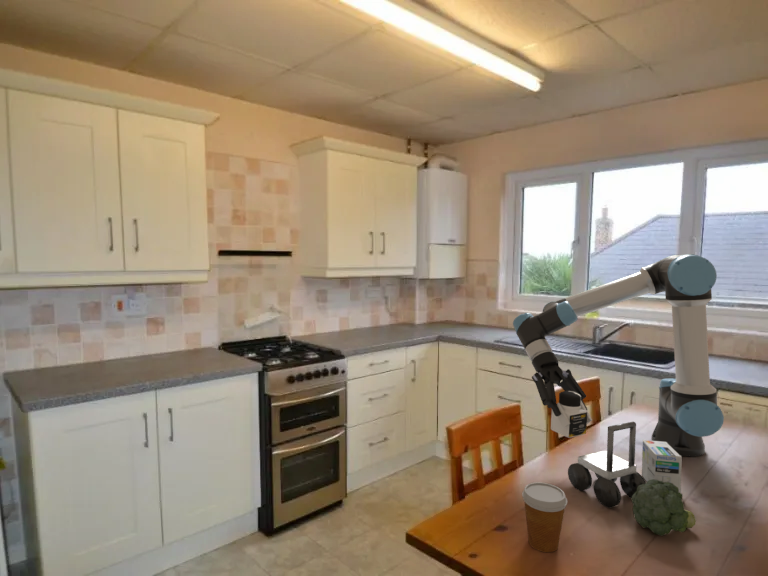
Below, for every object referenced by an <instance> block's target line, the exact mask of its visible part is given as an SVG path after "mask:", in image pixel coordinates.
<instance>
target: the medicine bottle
mask: <svg viewBox="0 0 768 576" xmlns="http://www.w3.org/2000/svg"><path fill="white" fill-rule="evenodd" d="M558 403H560V405H561V407H562V409H563V410H564V412H565V414H566V416H567V418H568V420H569V422H570V424H569V425H568V426H567V427H565V428H563V427H562V425H561V423H560V421H559V419H558V417H557V416H555V414H554V412H553V410H552V409H551V413H550V414H551V419H550V430H551V431H553V432H555V433H557V434H559V435H561V436H564V437H565V438H569V439H571V438H574V437H575V438H576V437H580V436H584V435H586V434H587V425H588V424H587V412H588V410H587V411H585V410H583V409H580V408H581V396H580V394H578V393H576V392H572V391H564V390H563V391H560V392H559V394H558Z"/></svg>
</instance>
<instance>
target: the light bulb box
mask: <svg viewBox="0 0 768 576" xmlns="http://www.w3.org/2000/svg"><path fill="white" fill-rule="evenodd" d="M641 454H642V458H641V476H642V477H643V478H644V480H645V481H646V482H647V481H649V480H652V479H656V480H659V481H662V482H669V483H673V484H674V485H675V486H676V487H678V489H679V493H681V491H682V490H681V489H682V464H683V461H682V460H683V456H681V455H679V454H678V453H677V452H676V451H675V450H674V449H673V448H672V447H671V446H670V445H669V444H668V443H667V442H662V441H651V439H650V440H648V439H642V453H641ZM681 494H682V493H681Z"/></svg>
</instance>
